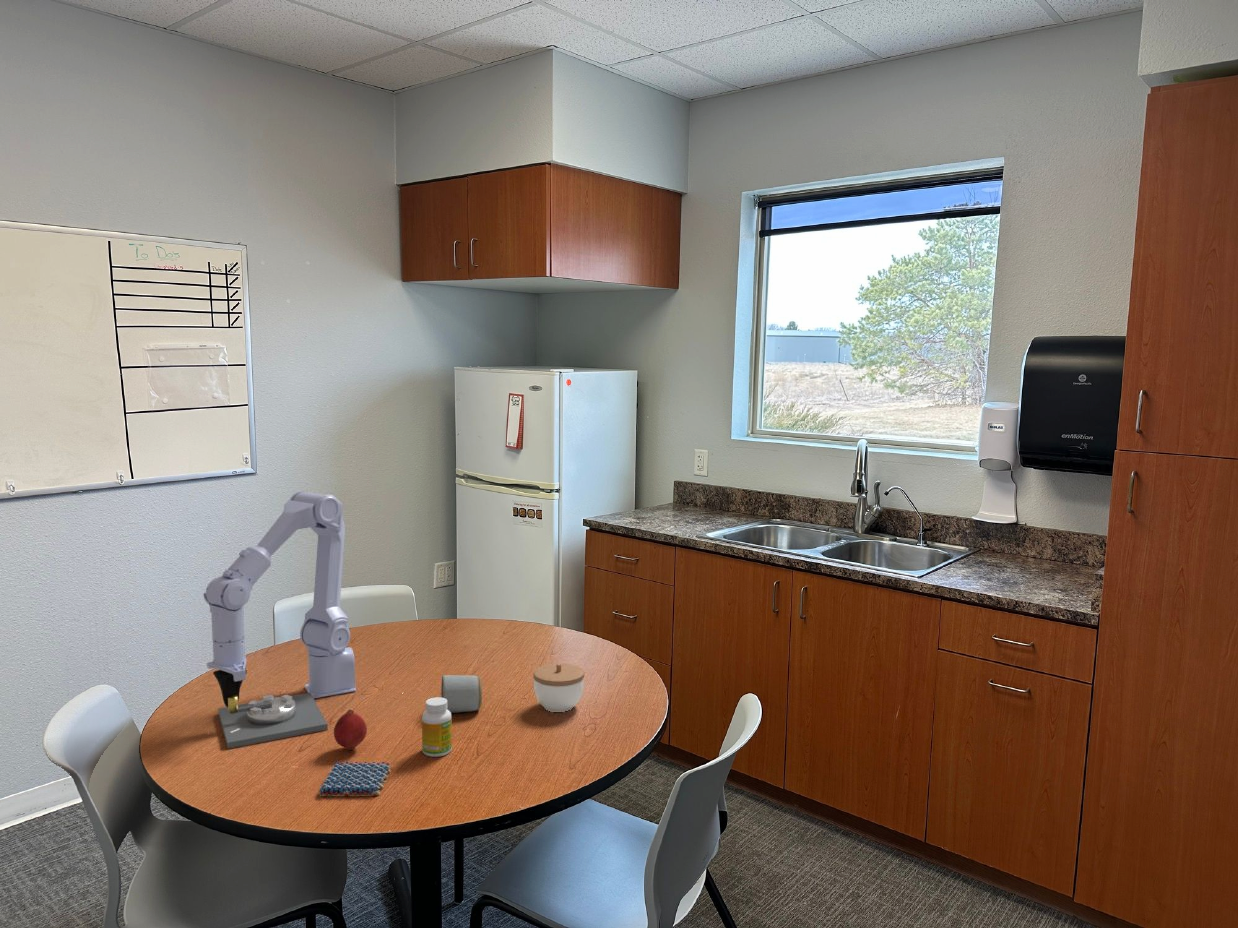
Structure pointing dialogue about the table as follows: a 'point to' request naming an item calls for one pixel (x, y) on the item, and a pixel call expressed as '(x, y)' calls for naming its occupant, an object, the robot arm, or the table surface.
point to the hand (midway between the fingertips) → (231, 705)
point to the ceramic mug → (462, 692)
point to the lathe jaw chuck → (265, 709)
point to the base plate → (247, 733)
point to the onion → (350, 730)
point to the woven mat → (355, 779)
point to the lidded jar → (558, 686)
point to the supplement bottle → (436, 728)
